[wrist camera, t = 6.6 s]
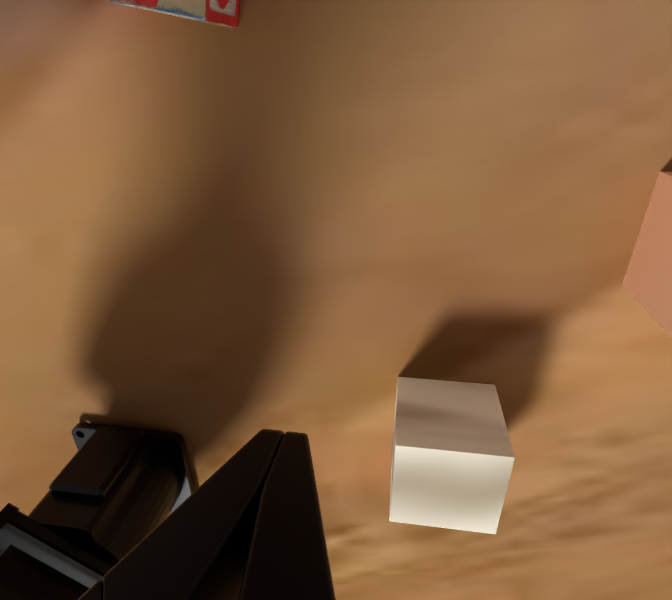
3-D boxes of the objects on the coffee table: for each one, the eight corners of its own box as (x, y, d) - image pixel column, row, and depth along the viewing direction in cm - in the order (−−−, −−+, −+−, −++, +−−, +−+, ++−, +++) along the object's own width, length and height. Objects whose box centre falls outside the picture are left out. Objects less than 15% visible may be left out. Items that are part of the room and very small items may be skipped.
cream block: (480, 453, 23) (495, 534, 19) (392, 444, 24) (389, 520, 20) (494, 383, 21) (514, 457, 17) (397, 375, 22) (395, 445, 18)
